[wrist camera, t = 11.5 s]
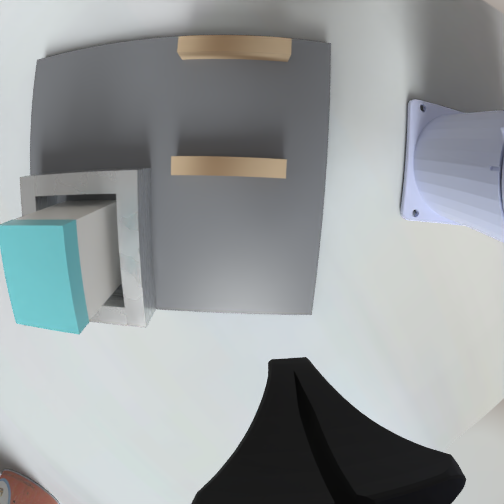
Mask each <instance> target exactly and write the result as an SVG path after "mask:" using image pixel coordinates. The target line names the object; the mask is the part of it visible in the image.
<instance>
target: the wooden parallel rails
mask: <svg viewBox="0 0 504 504" xmlns="http://www.w3.org/2000/svg"><path fill="white" fill-rule="evenodd" d="M291 44H292V38H281V37H267V36H247V35H196V36H179V37H178V48H177V53H178V54H179V56H180V57H181V59H182V60H186V59H249V60H268V61H282V62H288V60H289V58H290V56H291ZM286 166H287V159H274V158H254V157H225V156H171V175H208V176H244V177H267V178H285V179H286Z"/></svg>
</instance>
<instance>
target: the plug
mask: <svg viewBox="0 0 504 504" xmlns="http://www.w3.org/2000/svg"><path fill="white" fill-rule="evenodd" d="M0 249H1V255H2V261H3V267H4V272H5V278H6V283H7V287H8V292H9V296H10V301H11V305H12V309H13V313H14V317H15V320H16V323H17V324H22V325H28V326H33V327H38V328H44V329H50V330H55V331H61V332H68V333H74V334H80V333H81V332H82V330H83V329H84V328H85V327H86V325H87V324H88V323H89V321H90V320H91V318H92V317H93V316H94V315H95V314H96V312H97V311H98V310H99V309H100V308H101V307H102V305H103V304H104V303H105V302H106V301H107V299H108V298H109V297H110V296H111V295H112V294H113V292H114V291H115V290H116V289H117V288H118V287H119V286H120V284H121V283H122V278H121V268H120V256H119V243H118V226H117V202H116V200H80V201H64V202H61V203H58V204H56V205H53V206H50V207H47V208H44V209H41V210H38V211H36V212H33V213H30V214H27V215H25V216H22V217H19V218H17V219H14V220H10V221H8V222H5V223H3V224H0Z"/></svg>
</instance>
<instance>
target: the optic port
mask: <svg viewBox="0 0 504 504" xmlns="http://www.w3.org/2000/svg"><path fill="white" fill-rule="evenodd" d="M20 190H21V205H22V216H25V215H27V214H30V213H33V212H36V211H38V210H41V209H44V208H47V207H50V206H53V205H56V204H57V195H78V194H116V202H117V226H118V243H119V256H120V268H121V278H122V288H123V289H116V290H115V291H114V292H113V294H112V295H111V296H110V297H109V298H108V299H107V301H106V302H105V303H104V304H103V305H102V307H101V308H100V309H99V310H98V311H97V312H96V314H95V315H94V316H93V317H92V318H91V320H90V321H89V322H97V323H106V324H115V325H125V326H135V327H147V325H148V323H149V321H150V319H151V317H152V315H153V314H154V312H155V310H156V299H155V286H154V271H153V252H152V226H151V168H117V169H94V170H77V171H63V172H50V173H40V174H34V175H29V176H24V177H20Z"/></svg>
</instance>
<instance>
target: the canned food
mask: <svg viewBox="0 0 504 504" xmlns="http://www.w3.org/2000/svg"><path fill="white" fill-rule="evenodd" d="M0 504H59V502H58V501H57V499H56V498H55V497H54V496H53V495H51V494H50V493H49V492H48V491H47V490H45V489H44V488H43V487H41V486H40V485H38V484H37V483H35V482H34V481H32V480H31V479H29V478H27V477H26V476H24V475H22V474H20V473H18V472H15V471H13V470H9V469H4V470H3V473H2V475H1V476H0Z"/></svg>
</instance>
